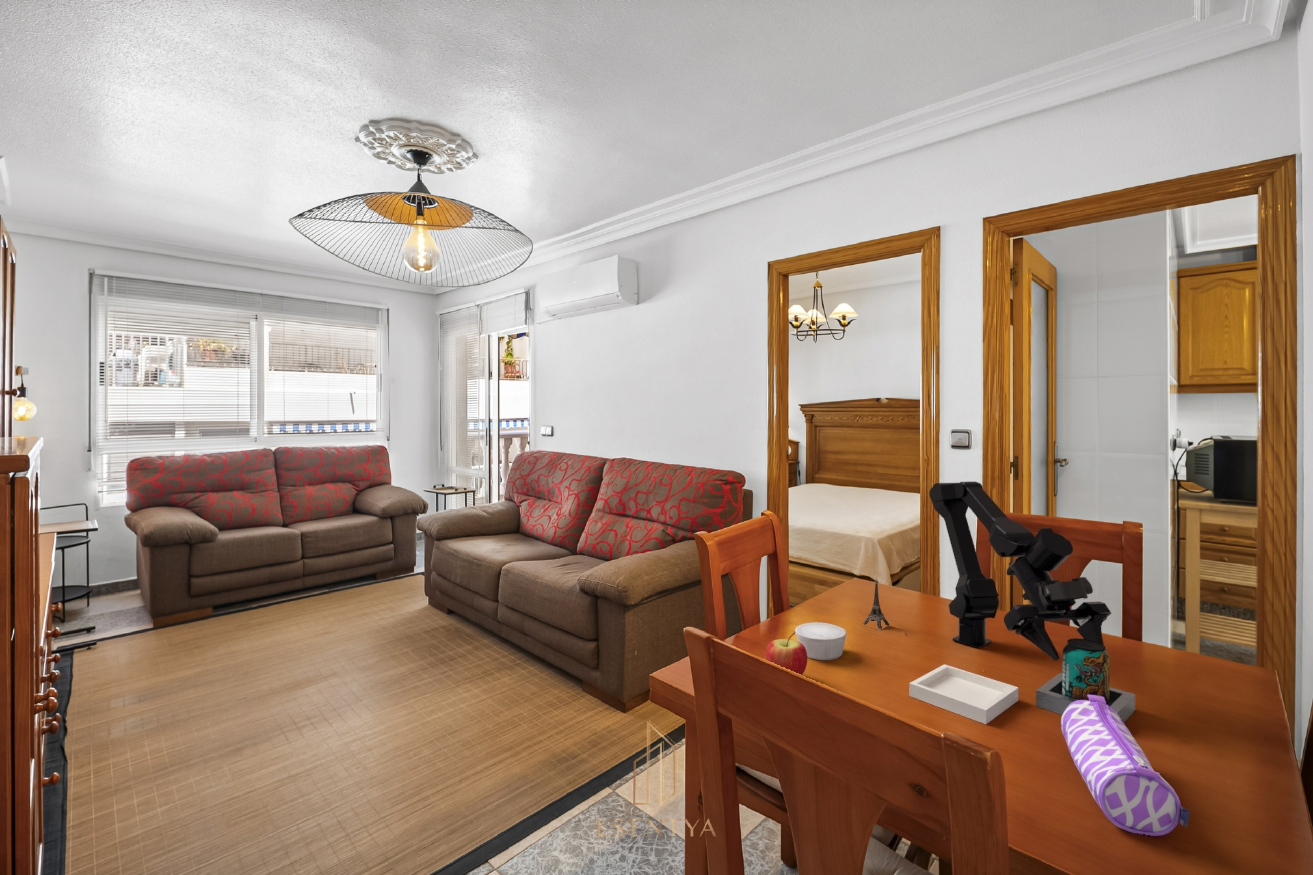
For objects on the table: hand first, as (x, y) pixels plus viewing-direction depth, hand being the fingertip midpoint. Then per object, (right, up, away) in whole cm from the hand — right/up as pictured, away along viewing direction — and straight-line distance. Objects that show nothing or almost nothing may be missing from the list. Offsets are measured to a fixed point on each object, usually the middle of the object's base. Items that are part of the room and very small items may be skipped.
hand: (1080, 658), depth 112 cm
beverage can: (0, -9, -1) cm, 9 cm away
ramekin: (-41, -9, +26) cm, 49 cm away
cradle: (-20, -9, +3) cm, 22 cm away
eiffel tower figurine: (-21, -8, +44) cm, 50 cm away
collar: (0, -9, -1) cm, 9 cm away
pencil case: (-13, -10, -25) cm, 30 cm away
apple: (-52, -9, +13) cm, 54 cm away
